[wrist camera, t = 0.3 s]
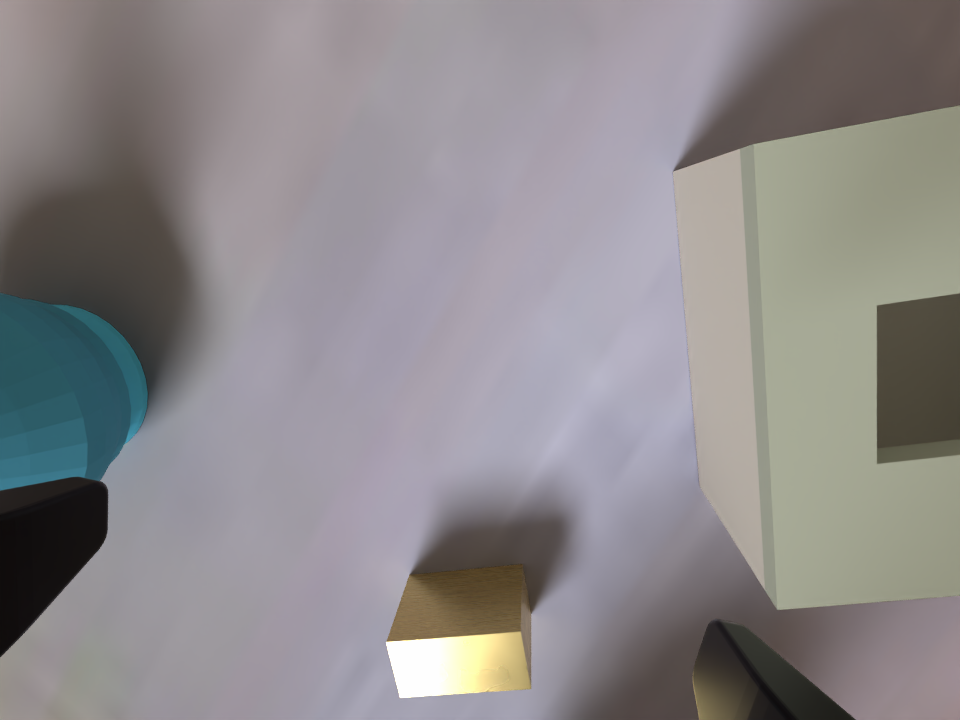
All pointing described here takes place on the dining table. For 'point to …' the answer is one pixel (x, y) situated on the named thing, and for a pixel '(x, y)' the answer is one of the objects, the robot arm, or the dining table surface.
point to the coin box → (830, 356)
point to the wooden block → (462, 633)
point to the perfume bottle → (63, 393)
